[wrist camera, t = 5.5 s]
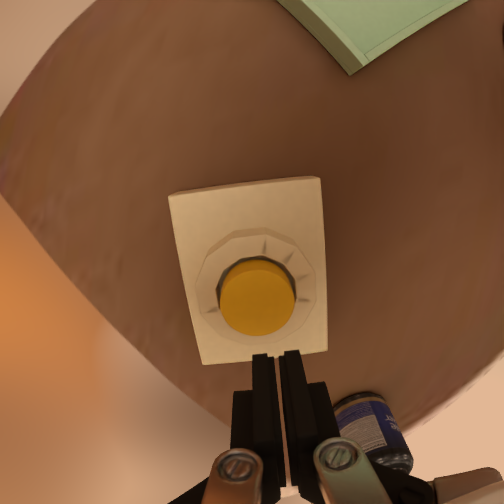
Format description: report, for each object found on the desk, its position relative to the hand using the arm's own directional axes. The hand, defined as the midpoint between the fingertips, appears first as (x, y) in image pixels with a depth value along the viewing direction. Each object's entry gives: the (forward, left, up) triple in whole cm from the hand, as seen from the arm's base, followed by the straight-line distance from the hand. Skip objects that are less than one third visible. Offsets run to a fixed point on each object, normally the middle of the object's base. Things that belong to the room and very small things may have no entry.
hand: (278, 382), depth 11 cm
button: (0, -1, -8) cm, 8 cm away
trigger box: (0, -1, -12) cm, 12 cm away
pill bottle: (+16, +7, -12) cm, 21 cm away
